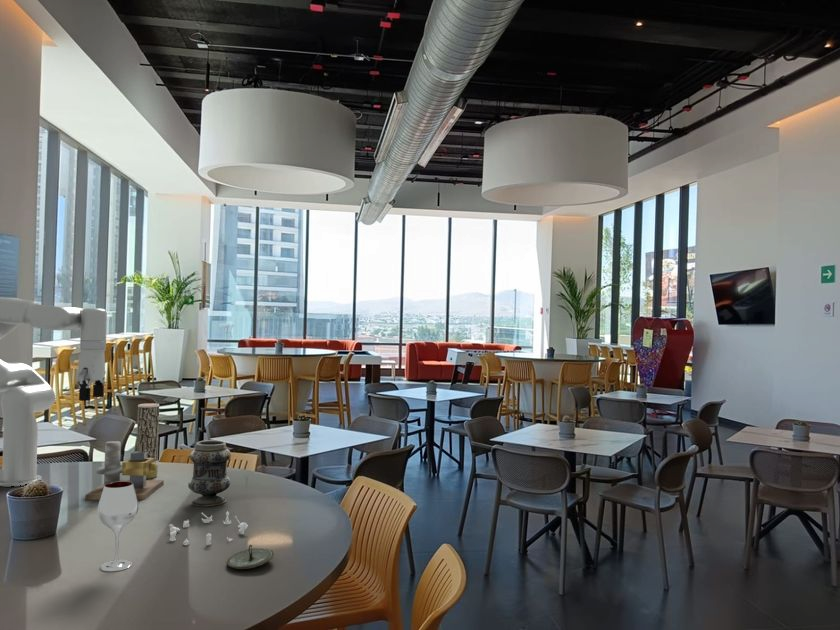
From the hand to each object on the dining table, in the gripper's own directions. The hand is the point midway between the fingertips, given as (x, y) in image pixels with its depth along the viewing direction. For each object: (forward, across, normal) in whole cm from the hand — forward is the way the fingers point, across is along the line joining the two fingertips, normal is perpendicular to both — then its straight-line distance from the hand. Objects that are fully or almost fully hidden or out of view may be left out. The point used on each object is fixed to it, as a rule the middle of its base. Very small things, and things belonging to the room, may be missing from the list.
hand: (91, 398), depth 206 cm
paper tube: (+28, -12, +14) cm, 34 cm away
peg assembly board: (+28, +7, +14) cm, 32 cm away
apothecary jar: (+28, +18, +43) cm, 55 cm away
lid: (+29, +67, +65) cm, 98 cm away
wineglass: (+28, +68, +36) cm, 82 cm away
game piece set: (+29, +46, +50) cm, 74 cm away
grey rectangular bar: (+27, +7, +18) cm, 33 cm away
